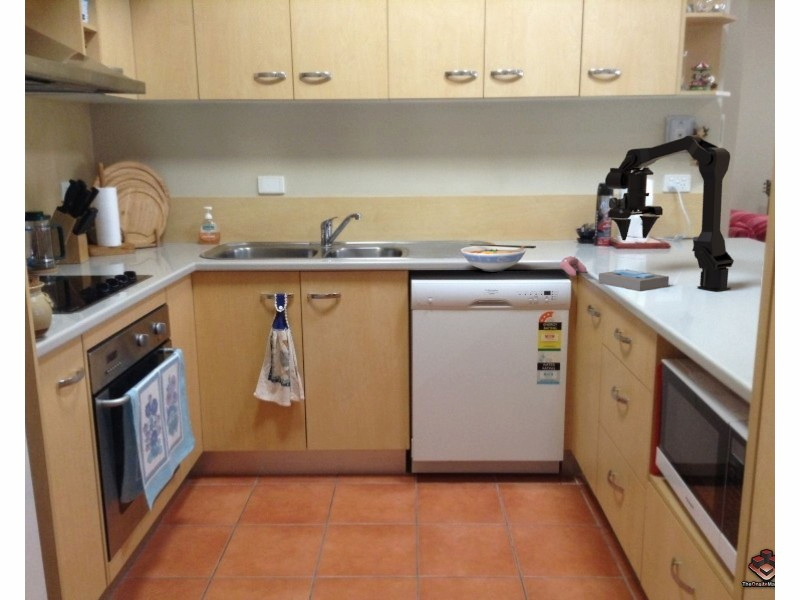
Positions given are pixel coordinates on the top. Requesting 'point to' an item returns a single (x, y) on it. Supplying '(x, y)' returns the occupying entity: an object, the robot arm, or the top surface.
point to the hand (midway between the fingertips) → (634, 239)
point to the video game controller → (572, 265)
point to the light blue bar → (633, 273)
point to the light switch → (633, 281)
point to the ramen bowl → (494, 256)
